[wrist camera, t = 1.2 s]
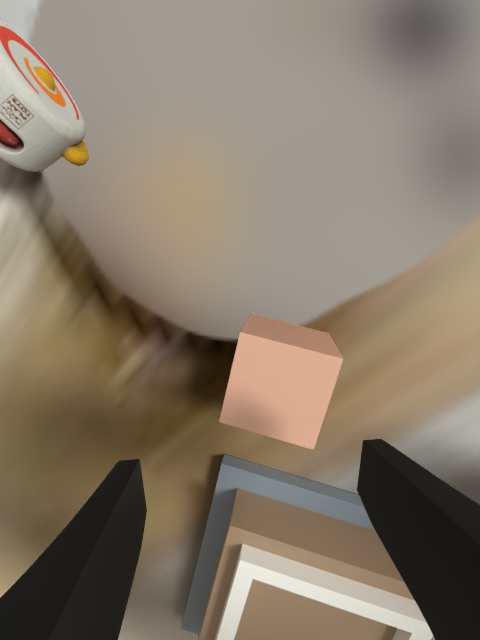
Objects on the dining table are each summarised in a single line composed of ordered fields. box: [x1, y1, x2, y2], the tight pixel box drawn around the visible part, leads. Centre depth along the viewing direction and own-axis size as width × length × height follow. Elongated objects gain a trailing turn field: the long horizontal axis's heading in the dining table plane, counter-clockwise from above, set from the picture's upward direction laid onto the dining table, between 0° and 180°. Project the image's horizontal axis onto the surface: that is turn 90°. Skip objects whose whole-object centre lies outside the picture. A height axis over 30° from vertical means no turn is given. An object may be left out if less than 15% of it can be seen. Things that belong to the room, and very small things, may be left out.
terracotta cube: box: [219, 314, 343, 450], centre depth 17 cm, size 5×5×5 cm
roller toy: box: [0, 21, 89, 172], centre depth 16 cm, size 4×6×6 cm
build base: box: [181, 454, 434, 640], centre depth 20 cm, size 16×16×5 cm
